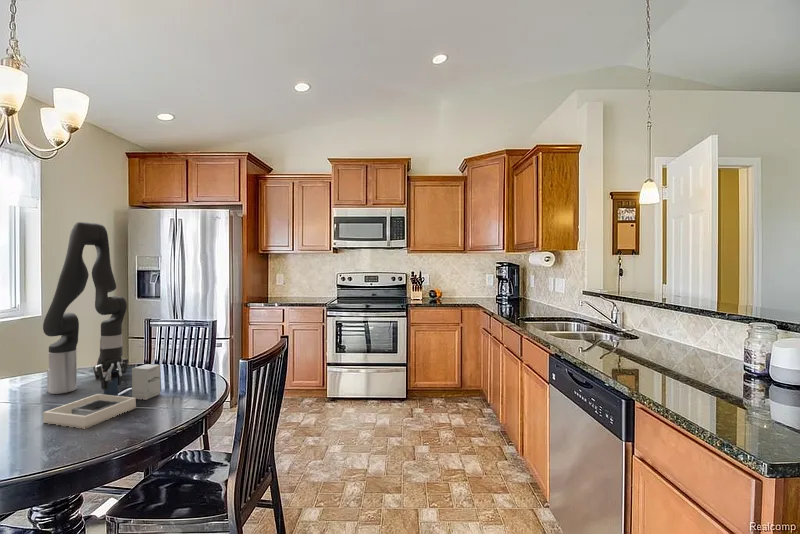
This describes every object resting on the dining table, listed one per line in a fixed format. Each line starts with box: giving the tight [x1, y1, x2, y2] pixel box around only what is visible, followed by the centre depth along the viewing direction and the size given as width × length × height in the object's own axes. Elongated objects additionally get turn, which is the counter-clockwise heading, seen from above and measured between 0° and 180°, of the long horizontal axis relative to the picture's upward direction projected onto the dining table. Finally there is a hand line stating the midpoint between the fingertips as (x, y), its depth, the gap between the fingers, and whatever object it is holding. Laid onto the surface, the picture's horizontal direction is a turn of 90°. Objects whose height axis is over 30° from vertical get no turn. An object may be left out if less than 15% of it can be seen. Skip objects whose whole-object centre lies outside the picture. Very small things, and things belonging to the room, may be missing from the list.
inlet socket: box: [72, 400, 120, 416], centre depth 150 cm, size 10×10×3 cm
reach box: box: [42, 393, 137, 430], centre depth 150 cm, size 18×20×4 cm
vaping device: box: [103, 370, 119, 396], centre depth 168 cm, size 3×5×12 cm, turn 161°
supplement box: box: [131, 363, 161, 401], centre depth 171 cm, size 7×7×13 cm
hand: (111, 387), depth 168 cm, fingers closed on vaping device, 5 cm apart
